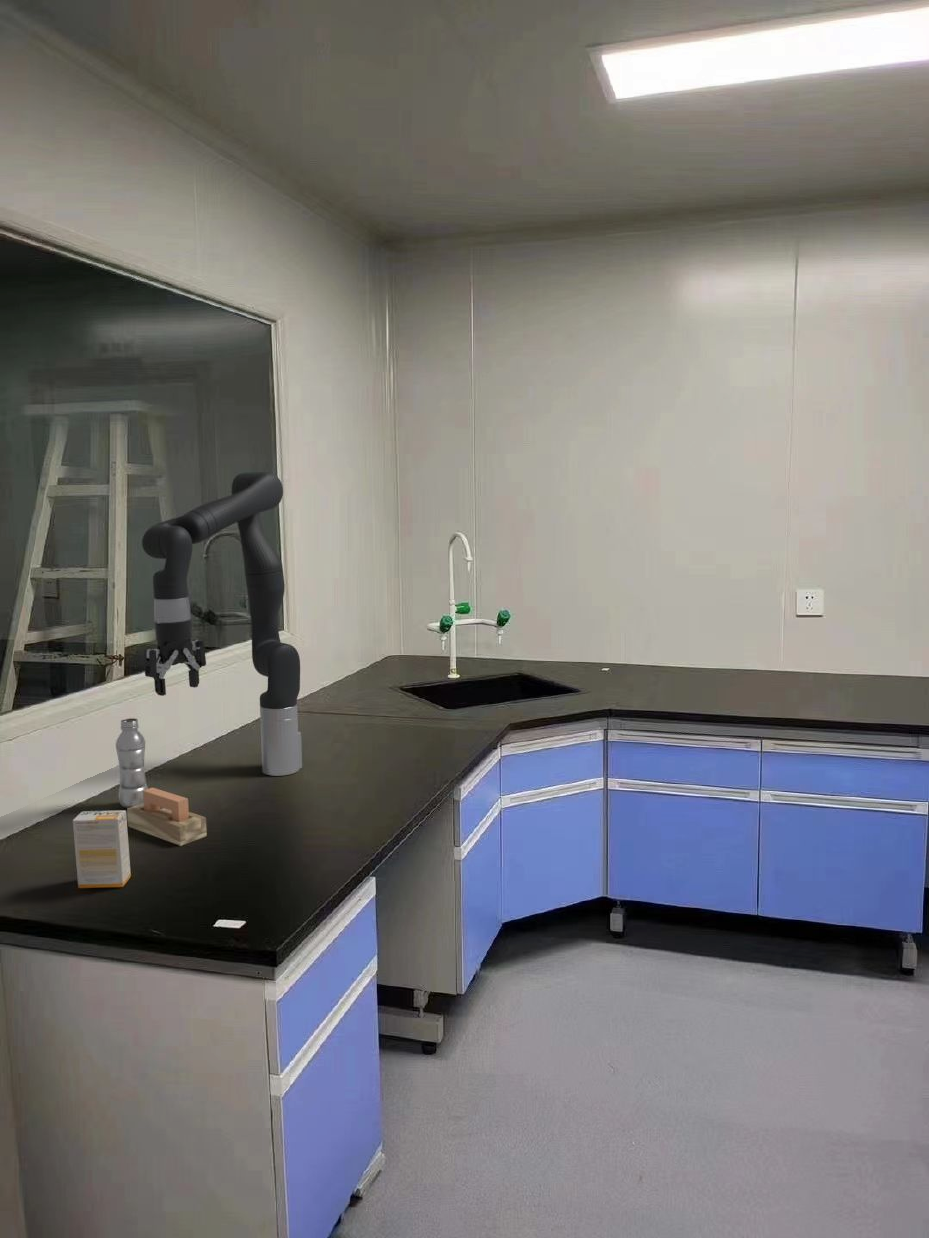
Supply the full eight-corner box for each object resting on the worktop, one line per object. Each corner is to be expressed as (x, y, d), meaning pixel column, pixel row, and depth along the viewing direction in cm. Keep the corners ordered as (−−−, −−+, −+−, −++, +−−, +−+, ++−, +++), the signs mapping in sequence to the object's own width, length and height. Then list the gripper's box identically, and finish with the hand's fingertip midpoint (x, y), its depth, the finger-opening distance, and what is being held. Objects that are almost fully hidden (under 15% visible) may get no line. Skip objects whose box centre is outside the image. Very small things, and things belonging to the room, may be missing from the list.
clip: (154, 819, 193) (152, 787, 192) (189, 831, 186) (187, 798, 185) (144, 822, 191) (142, 790, 190) (179, 835, 184) (178, 801, 183)
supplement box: (131, 876, 167) (127, 809, 165) (123, 888, 162) (118, 818, 160) (86, 877, 167) (82, 809, 165) (76, 888, 162) (71, 819, 160)
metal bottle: (117, 812, 200) (112, 725, 197) (120, 802, 206) (115, 717, 203) (148, 809, 202) (143, 723, 199) (150, 799, 208) (145, 715, 205)
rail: (154, 817, 197) (153, 799, 196) (206, 835, 186) (205, 817, 186) (128, 826, 192) (127, 808, 191) (180, 845, 181) (179, 826, 181)
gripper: (188, 612, 202) (193, 682, 205) (133, 621, 191) (139, 695, 194) (210, 615, 198) (215, 686, 201) (155, 624, 187) (161, 700, 189)
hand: (177, 690), depth 197 cm, fingers open, 8 cm apart
